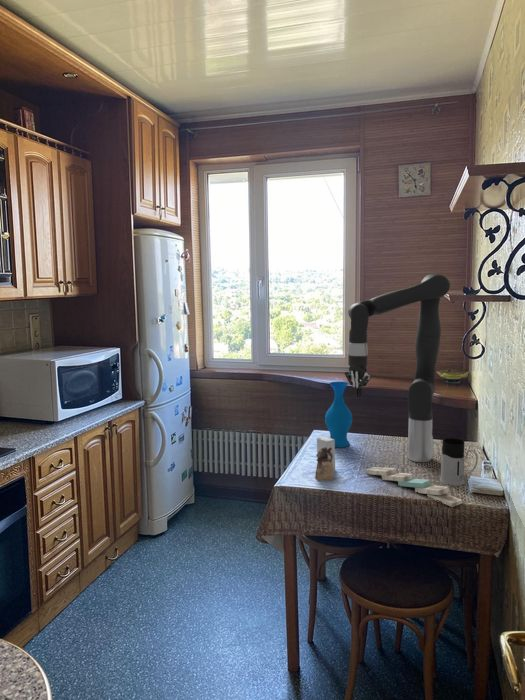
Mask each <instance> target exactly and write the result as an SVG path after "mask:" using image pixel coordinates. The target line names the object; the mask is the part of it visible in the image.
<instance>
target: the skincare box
mask: <svg viewBox="0 0 525 700" xmlns="http://www.w3.org/2000/svg"><path fill="white" fill-rule="evenodd" d="M324 446H325V447H326V448H327V450H328V449H329V448H330V447H331V448H332V450H331V451H330V452H331V453H332V455H333V458H332V463H333V468H334V470H335V469H336V450H335V449H336V447H335V440H334V439H331V438H330V437H327V436H320V437H317V438H316V452H317V453H316V455H317V454H318V452H319V450H320V449H321V448H322V447H324ZM328 457H329V458H330V459H331V457H330V456H329V455H328ZM316 462H317V463H318V461H317V460H316Z"/></svg>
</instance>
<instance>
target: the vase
mask: <svg viewBox="0 0 525 700" xmlns="http://www.w3.org/2000/svg"><path fill="white" fill-rule="evenodd" d="M329 385H330V386H331V388H332V389H333V392H334V393H333V394H334V399H333V402H332V403H331V406H330V407H329V408H328V410H327V411H326V413H325V417H324V422H325V425H326V428H327V429H328V431H329V435H330V436H329V438H331V439H334V440H335V448H346V447H349V446H350V441H349V440H348V433H349V431H350V429H351V427H352V425H353V424H352V423H353V414H352V412H351V411H350V409H349V408H348V406H347V405H346V403H345V399H344V392H345V389H346V388H347V386H349V385H350V383H349V382H347V381H331V382H329Z"/></svg>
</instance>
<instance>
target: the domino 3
mask: <svg viewBox="0 0 525 700" xmlns="http://www.w3.org/2000/svg"><path fill="white" fill-rule="evenodd" d="M397 483H398V486H399V485H400V486H399V487H407V488H416V487H417V488H424V487H426V486H428V485H432V482H431V479H427V478H426V479H425V478H423V479H422V478H414V477H413V478H412V479H410V480H407V481H405V482H403V481H397Z"/></svg>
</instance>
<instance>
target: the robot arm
mask: <svg viewBox="0 0 525 700" xmlns="http://www.w3.org/2000/svg"><path fill="white" fill-rule="evenodd" d="M450 285H451V283H450V280H449V279H448V277H446V276H444V275H443V274H439V273H438V274H437V273H429V274H428V275H425V277H424V278H423V279H422V280H421V282H420V283H418V284H417V285H413V286H410V287H407V288H403V289H398V290H394V291H389V292H386V293H383V294H381V295H378V296H375V297H372V298H371V299H366V300H363V301H358V302H356V303H353V304H351V306H349V308H348V310H347V311H348V316H349V318H350V329H349V331H348V351H347V352H348V356H347V357H348V359H347V360H348V361H347V362H348V364H347V365H348V366H349V367H348V370H347V371H345V372H344V375H345V377H346V380H347V381H348V382H347V383H349V385H350V386H352V387H353V396H354V397H355V398H360V397H361V396H362V388H363V387H366V386H367V385H368V383H369V382H370V380H371V379H372V375H370V374H368V370H367V367H368V362H369V361H368V359H369V358H368V356H369V355H368V351H369V350H368V327H369V326H368V325H369V318H370V317H373V316H377V315H382V314H385V313H388V312H392V311H394V310H397V309H399V308H400V309H401V308H403V307H405V306H408V305H411V304H414V303H418V302H419V303H420V305H419V315H418V319H417V328H416V334H415V335H416V336H415V343H414V346H415V359H416V366H415V367H416V368H415V374H414V378H413V382H412V383H411V384H410V385H409V387H408V390H407V391H408V392H407V410H408V411H407V412H408V435H407V436H408V438H407V459H408V460H410V461H412V462H415V463H427V462H428V463H429V462H431V461H432V459H433V451H434V450H433V449H434V448H433V446H434V436H433V409H432V408H433V407H432V406H433V405H432V403H433V402H432V399H433V396H434V393H435V386H436V385H435V383H436V381H435V380H436V379H435V375H436V374H435V373H436V364H437V359H438V355H439V350H440V344H441V335H442V334H441V333H442V331H441V329H442V327H441V320H440V314H439V307H440V300H441V298H443V297H444V296H446V295H447V294H448V292H449V291H450V287H451V286H450Z"/></svg>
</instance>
